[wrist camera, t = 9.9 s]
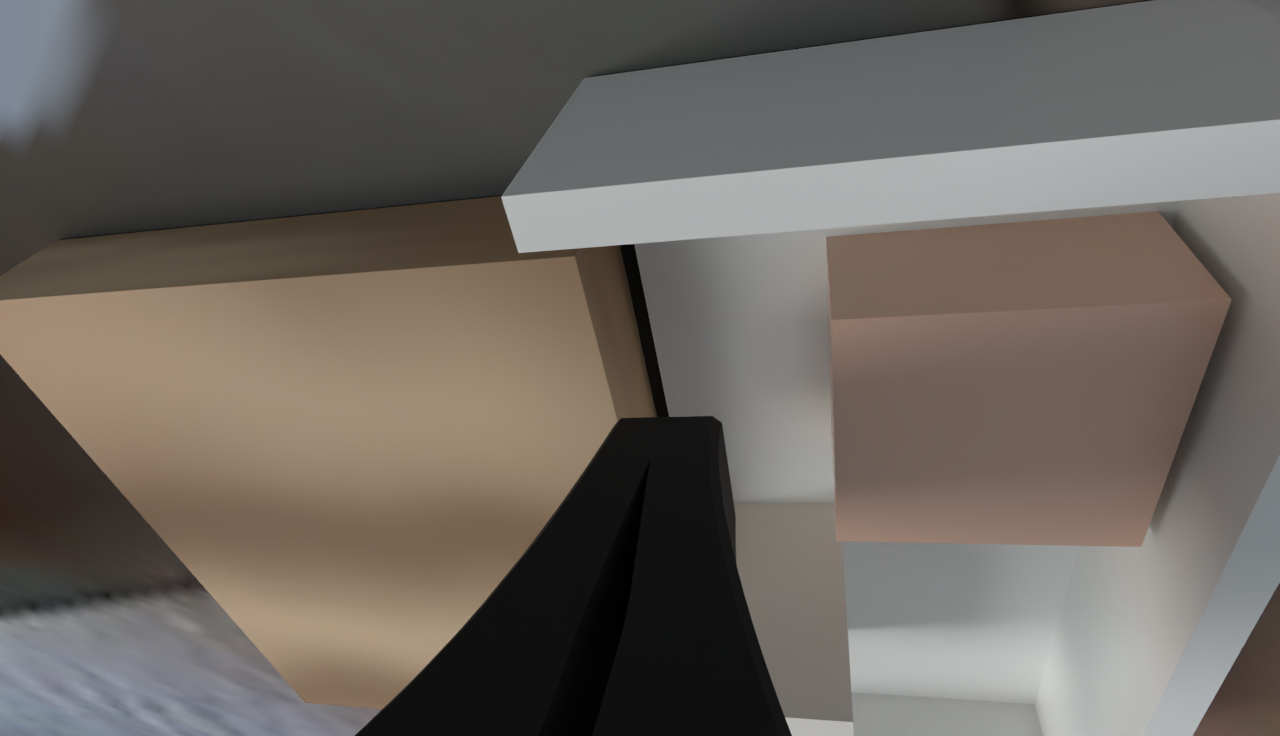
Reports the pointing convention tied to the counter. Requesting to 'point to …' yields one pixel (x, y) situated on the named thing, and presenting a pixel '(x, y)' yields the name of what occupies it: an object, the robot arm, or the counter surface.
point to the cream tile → (799, 610)
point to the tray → (952, 197)
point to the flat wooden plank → (335, 412)
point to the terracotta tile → (1013, 378)
